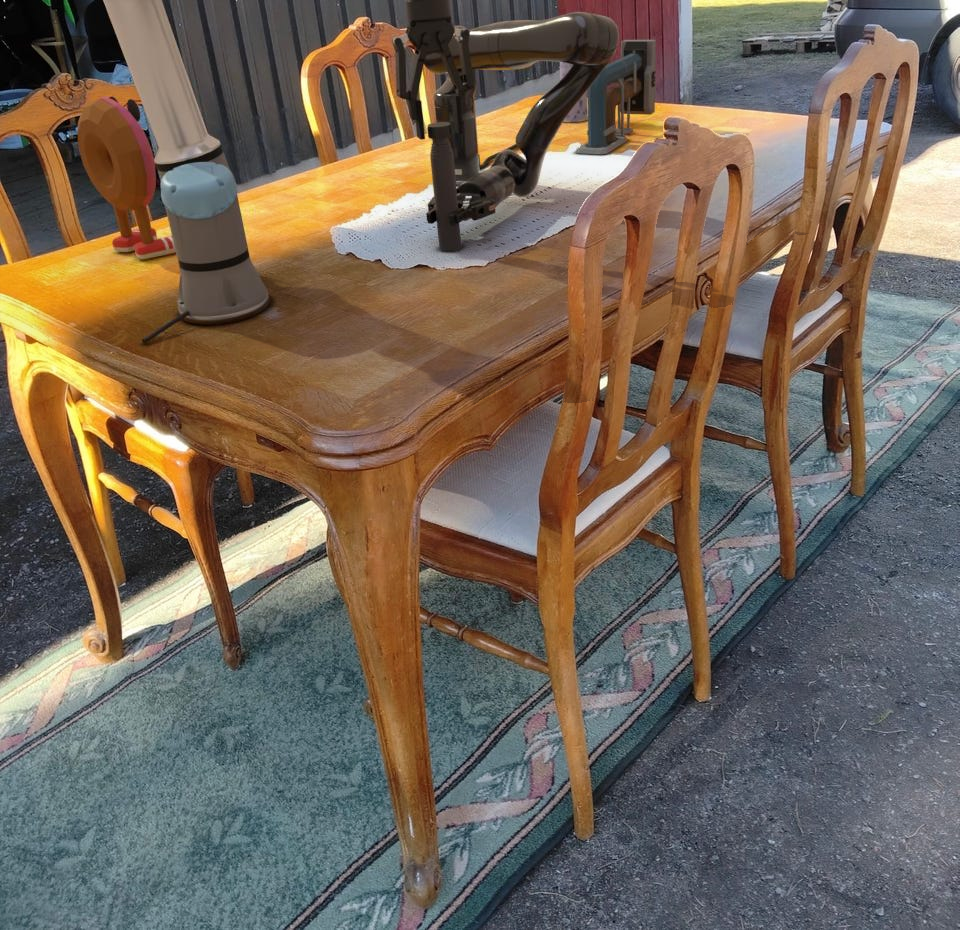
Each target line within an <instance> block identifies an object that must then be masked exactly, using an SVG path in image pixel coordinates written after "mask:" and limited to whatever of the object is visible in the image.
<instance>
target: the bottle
mask: <svg viewBox="0 0 960 930" xmlns="http://www.w3.org/2000/svg"><path fill="white" fill-rule="evenodd" d="M431 141H432V143H431V147H430V154H429V155H430V156H429V157H430V158H429V160H430V168H431V180H432V189H433V197H434V200H435V210H436V220H437V221H436V231H437V240H438V248H439V250H440V251H441V252H446V253H447V252H455V251H459V250H461V248H462V235H461V226H460V223H458V224H457V225H455V226H454V225H451V221H450V214H451V213H453V212H454V211H456V210H458V201H457V185H456V178H455V166H454V155H453V151H452V148H451V145H450V142H449V140H448V138H444V139H431Z"/></svg>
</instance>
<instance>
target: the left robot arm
mask: <svg viewBox="0 0 960 930" xmlns="http://www.w3.org/2000/svg"><path fill="white" fill-rule="evenodd" d="M102 1H103V3H104V5H105V9H106V11H107V14H108V17H109V20H110V23H111V24H112V27H113V30H114V34H115V35H116V38H117V40H118V44H119V46H120V48H121V51H122V55H123V57H124V59H125V62H126V65H127V68H128V70H129V72H130V76H131V77H132V81H133V83H134V86H135V88H136V91H137V94H138V96H139V99H140V102H141V104H142V107H143V109H144V113H145V114H146V117H147V120H148V123H149V126H150V129H151V131H152V134H153V137H154V139H155V141H156V144H157V151H156V154H155V156H154V162H155V168H156V170H157V172H158V175H159V177H160V178H159V179H160V198H161V202H162V204H163V205H164V208H165V212H166V217H167V221H168V225H169V229H170V234H171V236H172V238H173V242H174V246H175V250H176V253H175V254H176V258H177V262H178V266H179V283H178V294H177V310H178V314H179V315H177V316H176V317H174V318H173V319H171V320H170V321H168V322H167V323H165V324H163V325H162V326H161V327H159V328H157V329H155V330H154V331H153V332H151V333H150V334H149V335H147V336H146V337H143V338H142V339H141V342H142V343H143V344H147V343H148V342H149V341H151V340H153V339H155V338H156V337H157V336H159V335H160V334H162V333H163V332H164V331H166V330H167V329H169V328H171V327H172V326H174V325H176V324H177V323H179V322H180V321H182V320H183V321H184V322H186V323H189V324H193V325H202V326H203V325H204V326H205V325H206V326H210V325H222V324H230V323H233V322H239V321H241V320H245V319H248V318H251V317H253V316H256V315H258V314H260V312H263V311H264V310H265V309H266V308H267V307H268V306H269V305H270V296H269V291H268V290H267V287H266V284H265V283H264V282H263V280H262V278H261V276H260V274H259V272H258V270H257V269H256V267H255V265H254V264H253V262H252V260H251V257H250V251H249V246H248V241H247V236H246V232H245V227H244V222H243V221H244V220H243V217H242V212H241V207H240V202H239V197H238V186H237V182H236V181H237V180H236V178H235V176H234V173H233V172H232V171H231V169H230V166H229V164H228V160H227V158H226V154H225V152H224V149H223V147H222V144H221V141H220V140H219V139H218V138H216V137H214V136H212V135H211V134H209V133H208V130H207V127H206V124H205V121H204V118H203V116H202V112H201V109H200V106H199V104H198V102H197V98H196V95H195V92H194V90H193V86H192V84H191V81H190V78H189V75H188V72H187V70H186V67H185V64H184V61H183V58H182V55H181V52H180V49H179V47H178V44H177V40H176V38H175V36H174V32H173V29H172V26H171V24H170V21H169V18H168V15H167V13H166V9H165V6H164V3H163V0H102ZM404 2H405V10H406V11H405V12H406V22H407V28H406V30H405V33H404V34H401V35H399V36H392V37H391V44H392V46H393V49H394V54H395V57H394V58H395V59H394V60H395V86H396V87H395V88H396V89H395V91H396V96H397V97H399V99H402V100H406V101H407V105H408V113H409V114H408V115H409V118H410V119H411V121H414V122H415V131H416V138H418V139H419V140H421V141H422V140H426V133H425V124H424V115H423V114H424V113H423V103H422V100H420V99H418V94H419V90H420V85H421V80H422V74H423V69H424V66H425V65H424V61H425V59H426V55H430V54H433V53H438V54H440V56H441V57H442V59H443V62H444V64H445V67H446V69H447V72H448V73H447V75H448V74H449V77H450V79H451V82H452V84H453V86H454V89H455V91H456V94H451V96H452V107H453V119H454V131H455V132H456V133H458V134H463V128H462V116H461V113H465V112H466V102H465V94H466V93H467V91H469V90H471V89H474V87H475V84H474V78H473V71H472V65H471V58H470V52H469V45H468V43H469V37H470V31H469V30H470V29H468V28H467V29H468V30H467V29H464V28H461V29H458V28H455V27H454V26H455V25H454V24H453V20H452V11H451V0H404ZM453 35H455V39H456V41H458V49H459V55H460V62H461V68H462V74H463V81H464V83H462V80H461V78H460V75H459V73H458V70H457V68H456V65H455V63H454V60H453V58H452V54H451V51H450V49H449V46H448V44H449V42H450V40H451V39H452V37H453ZM408 42H410V43H411V45H412V46H413V47H414V52H413V60H412V61H413V62H412V66H411V72H410V77H409V82H408V88H407V59H406V58H407V57H406V50H405V49H406V48H408Z"/></svg>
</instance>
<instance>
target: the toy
mask: <svg viewBox="0 0 960 930" xmlns="http://www.w3.org/2000/svg"><path fill="white" fill-rule="evenodd" d="M140 119H141V111H140V107H139V105H138V103H137V102H136V101H135V100H134V99H132V98H129V99H128V100H127V102H126V107H125V106H123V105H122V104H121V103H119V101H118V100H117V99H116V97H115V96H109V97H106V96H102V97H100V98H98V99H95V100H94V101H92V102H90V103H88V104H86V105H85V106H84V107H82V109H81V113H80V116H79V119H78V122H77V147H78V151H79V155H80V158H81V162H82V165H83V167H84V170H85V172H86V174H87V176H88V178H89V180H90V182H91V184H92V185H93V186H94V187H95V189H96V190H97V191H98V193H99V194H100V195H101V196H102V197H103V198H104V199H105V200H106V201H107V203H109V204H110V205H112V207H113V211H114V214H115V218H116V222H117V225H118V226H117V227H118V230H119V233H120V236H118V237H114V239H112V241H111V243H112V248H113V251H115V252H117V253H131V252H133V251H134V253H135V256H136V258H138V259H140V260H147V259H152V258H153V259H154V258H158V257H161V256H168V255H171V254H176V250H175V246H174V242H173V238H172V235H169V236H165V237H159V238H158V234H157V231H156V229H155V228H153V227H152V225H151V221H150V217H149V213H148V209H147V206H148V205H149V204H150V203H151V201H152V199H153V197H154V195H155V192H156V186H157V176H156V175H157V174H156V165H155V162H154V158H155V156H154V154H153V150H152V147H151V145H150V142H149V140H148V137H147V135H146V133H145V131H144V129H143V127H142V126H141V124H140V123H139V121H140ZM128 211H133V212H134V216H135V219H136V223H137V228H135V229H133V228H132V226H131V221H130V217H129V212H128ZM132 229H133V230H132Z"/></svg>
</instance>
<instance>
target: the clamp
mask: <svg viewBox="0 0 960 930" xmlns="http://www.w3.org/2000/svg"><path fill="white" fill-rule="evenodd" d="M656 53H657V40H656V39H624V40H621V42H620V58H618V59H617V60H614V61H611V62H609V63H608V64H607V66H606V67H605V68H604V69H603V71H602V72H601V73H600V74H599V76H598V77H597V78H596V79H595V80H594V82H593V83H592V84H591V86H590V87H589V88H588V89H587V116H588V119H587V131H586V136H587V142H585V143H583V144H581V145H579V146H580V148H578V147H577V148H578V149H577V148H576V149H575V151H574V152H575V153H576V154H585V155H608V154H609V153H611V152H612V151H614V150H615V149H617V148H618V147H620V146H621V145H623V144H625V143H626V142H628V141H629V139H628V138H627V135H631V134H632V133H634V129H633V128H632V127H631V115H653V114H654V113H656V112H655V111H656V62H657V61H656V60H657V59H656V57H657V55H656ZM612 84H615V85H613V86H611V87H609V88H608V89H607V87H608V86H610V85H612ZM616 109H617V110H616ZM616 111H617V124H616ZM625 115H626V127H625Z"/></svg>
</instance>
